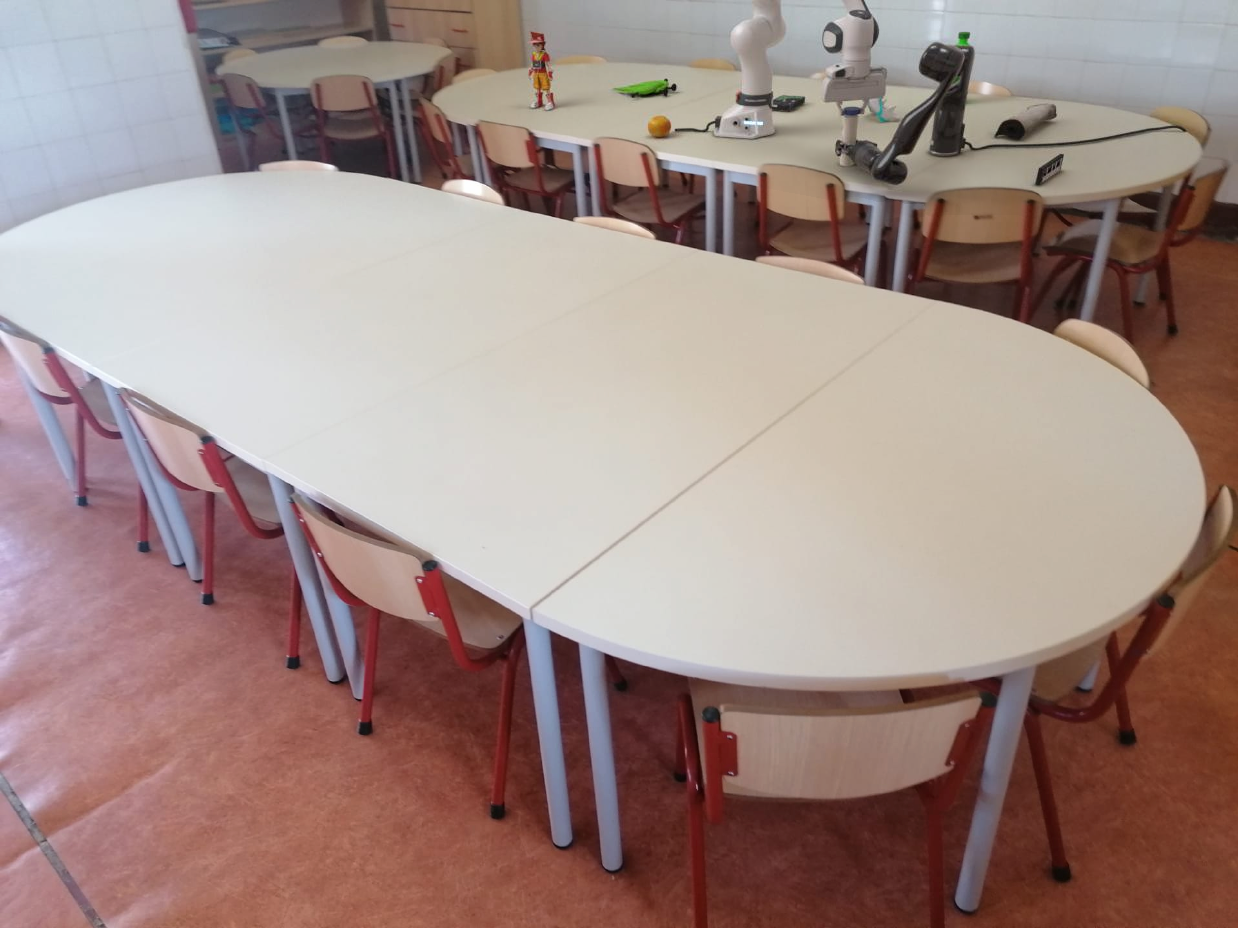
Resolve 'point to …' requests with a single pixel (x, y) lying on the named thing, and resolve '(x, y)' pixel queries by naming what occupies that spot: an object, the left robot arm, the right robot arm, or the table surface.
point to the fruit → (659, 126)
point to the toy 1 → (541, 71)
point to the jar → (849, 136)
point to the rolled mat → (1026, 121)
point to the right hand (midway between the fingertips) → (845, 142)
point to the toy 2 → (648, 88)
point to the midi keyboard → (1049, 169)
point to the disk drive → (787, 102)
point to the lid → (852, 111)
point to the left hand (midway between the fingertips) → (851, 114)
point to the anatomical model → (882, 110)
